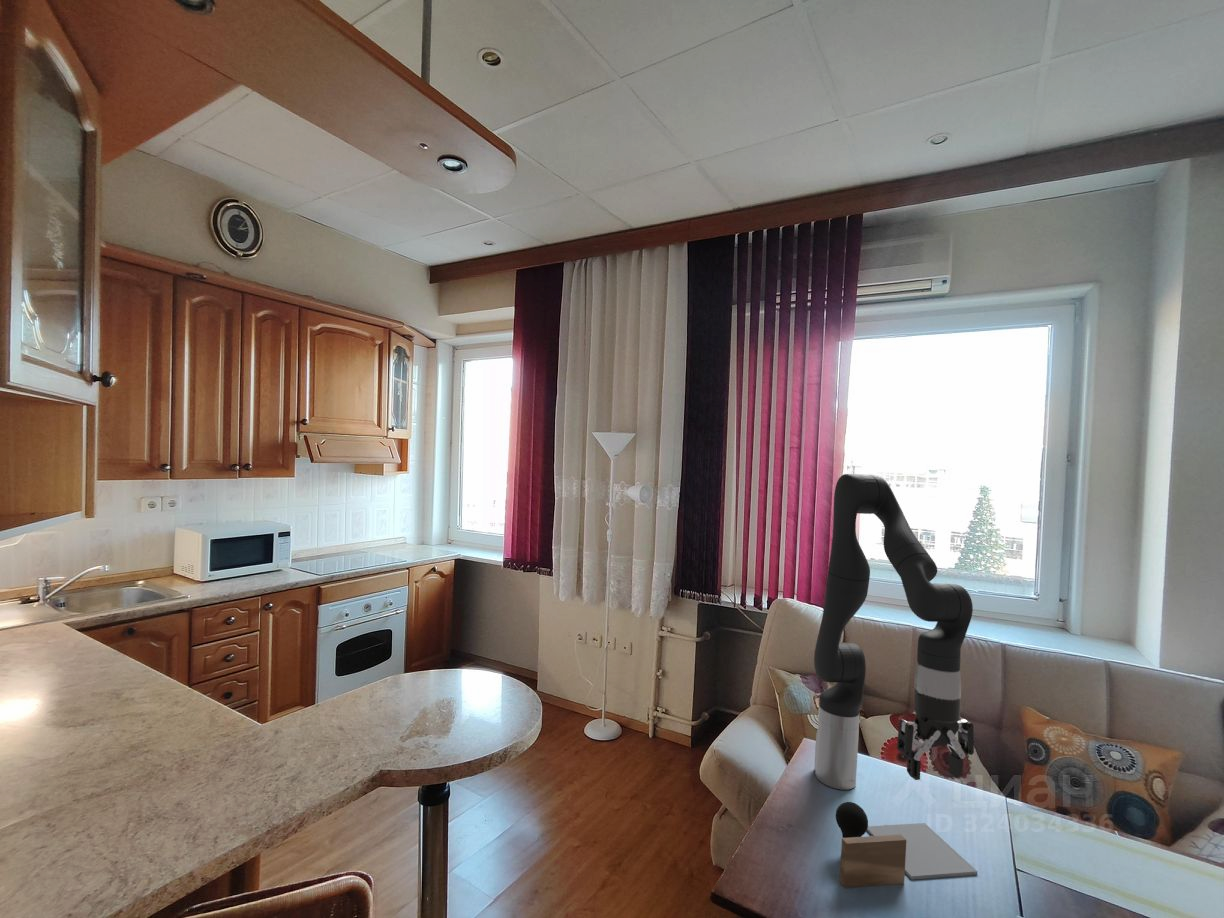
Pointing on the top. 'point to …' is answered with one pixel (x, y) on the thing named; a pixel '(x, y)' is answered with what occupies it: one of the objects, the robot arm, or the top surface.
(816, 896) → the top surface
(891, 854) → the wooden toy block
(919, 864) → the rubber mat
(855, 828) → the light bulb
